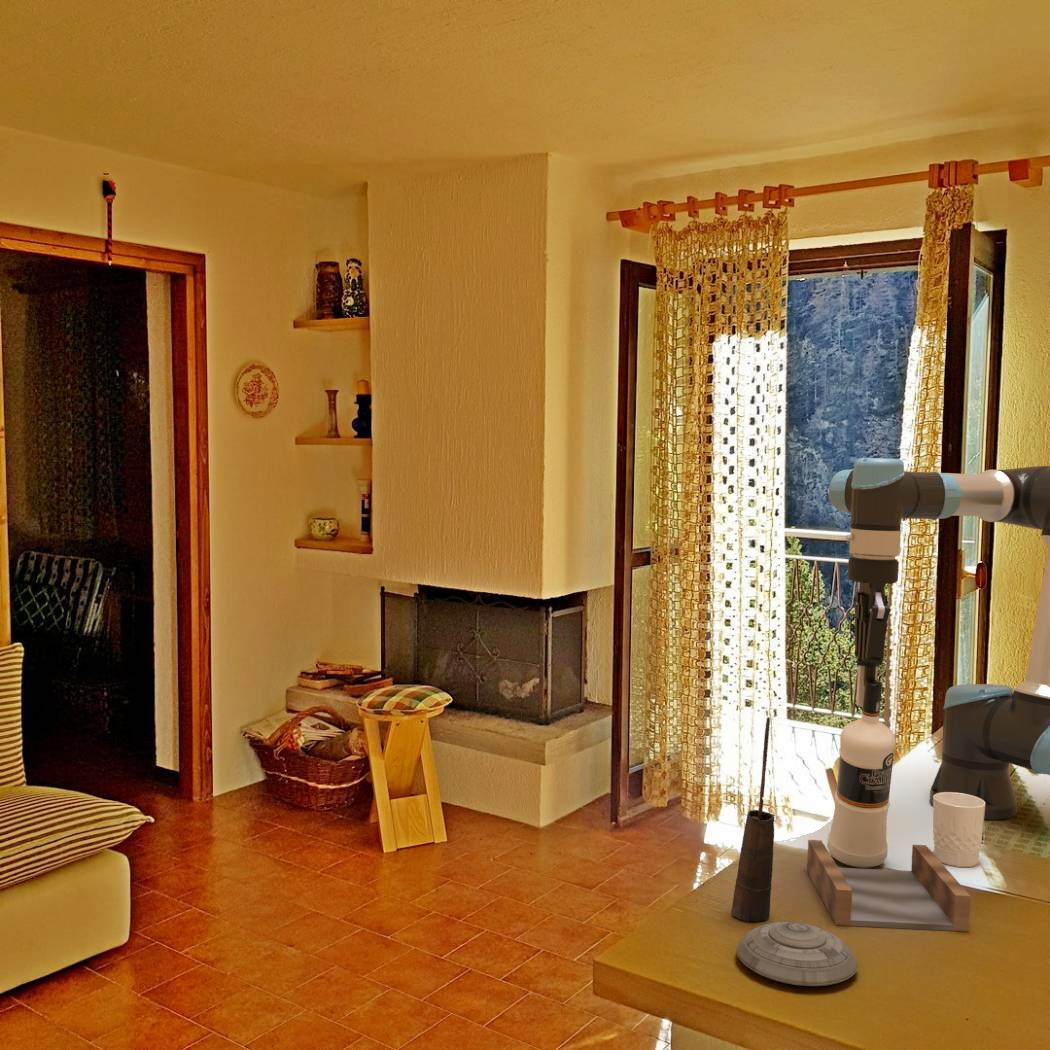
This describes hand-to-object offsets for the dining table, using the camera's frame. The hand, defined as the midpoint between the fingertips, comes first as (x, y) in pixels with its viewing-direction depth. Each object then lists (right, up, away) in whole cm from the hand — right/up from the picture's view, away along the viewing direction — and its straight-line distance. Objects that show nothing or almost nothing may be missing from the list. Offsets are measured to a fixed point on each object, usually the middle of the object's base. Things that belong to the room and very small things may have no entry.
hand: (865, 705), depth 176 cm
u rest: (-1, -26, -12) cm, 29 cm away
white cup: (+16, -26, +5) cm, 31 cm away
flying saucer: (-19, -28, -34) cm, 48 cm away
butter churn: (-22, -27, -20) cm, 40 cm away
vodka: (0, -25, +4) cm, 25 cm away
